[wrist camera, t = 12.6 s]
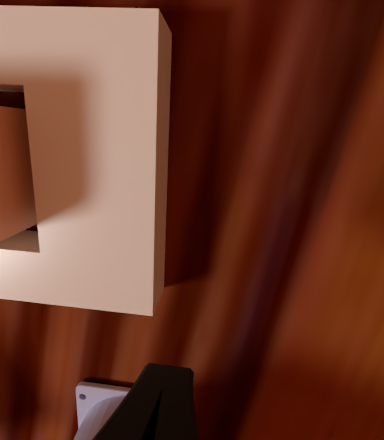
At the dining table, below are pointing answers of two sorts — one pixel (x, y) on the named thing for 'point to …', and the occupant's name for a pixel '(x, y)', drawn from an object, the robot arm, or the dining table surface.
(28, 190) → the plug
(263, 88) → the dining table surface
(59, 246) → the socket plate
